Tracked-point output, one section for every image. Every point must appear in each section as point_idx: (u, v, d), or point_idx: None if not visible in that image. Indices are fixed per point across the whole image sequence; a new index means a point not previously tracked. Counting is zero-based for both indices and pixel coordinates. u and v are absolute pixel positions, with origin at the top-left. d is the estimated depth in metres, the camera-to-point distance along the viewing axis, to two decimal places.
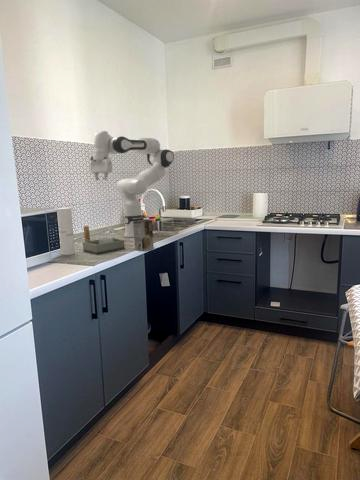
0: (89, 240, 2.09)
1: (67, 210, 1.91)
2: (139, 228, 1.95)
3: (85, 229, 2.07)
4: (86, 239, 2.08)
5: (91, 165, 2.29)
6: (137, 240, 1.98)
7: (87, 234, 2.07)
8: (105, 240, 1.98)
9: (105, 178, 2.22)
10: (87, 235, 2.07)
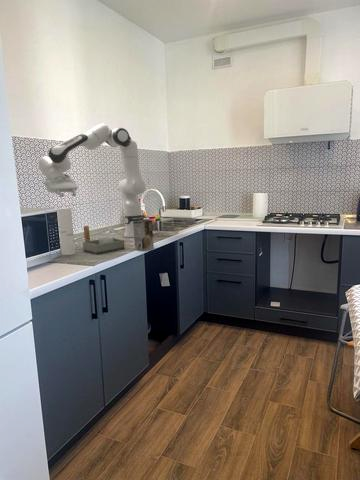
0: (89, 240, 2.09)
1: (67, 210, 1.90)
2: (139, 228, 1.95)
3: (85, 229, 2.06)
4: (86, 239, 2.08)
5: None
6: (137, 240, 1.98)
7: (87, 234, 2.07)
8: (105, 240, 1.98)
9: (60, 195, 2.07)
10: (87, 235, 2.07)
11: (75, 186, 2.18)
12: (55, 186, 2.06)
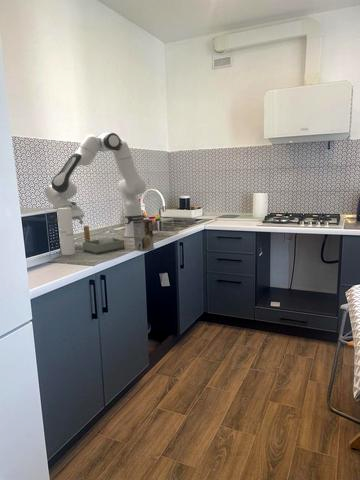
0: (89, 240, 2.09)
1: (67, 210, 1.91)
2: (139, 228, 1.95)
3: (85, 229, 2.07)
4: (86, 239, 2.08)
5: None
6: (137, 240, 1.98)
7: (87, 234, 2.07)
8: (105, 240, 1.98)
9: None
10: (87, 235, 2.07)
11: (82, 213, 2.19)
12: None
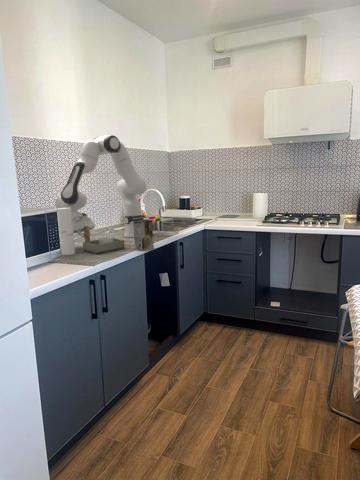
0: (89, 240, 2.09)
1: (67, 210, 1.90)
2: (139, 228, 1.95)
3: (85, 229, 2.06)
4: (86, 239, 2.08)
5: None
6: (137, 240, 1.98)
7: (87, 234, 2.07)
8: (105, 240, 1.98)
9: (82, 236, 2.07)
10: (87, 235, 2.07)
11: (92, 224, 2.16)
12: (74, 228, 2.04)
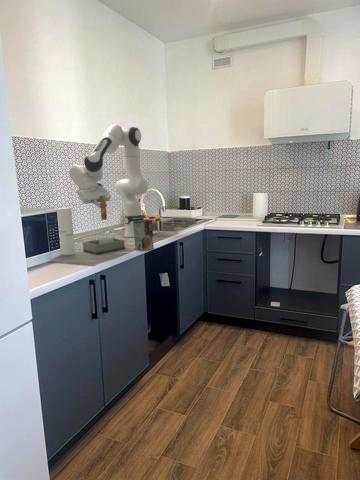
0: (105, 211, 1.98)
1: (67, 210, 1.90)
2: (139, 228, 1.95)
3: (101, 199, 1.96)
4: (102, 209, 1.97)
5: None
6: (137, 240, 1.98)
7: (103, 204, 1.97)
8: (105, 240, 1.98)
9: (98, 206, 1.96)
10: (103, 205, 1.97)
11: (108, 195, 2.05)
12: (90, 197, 1.93)
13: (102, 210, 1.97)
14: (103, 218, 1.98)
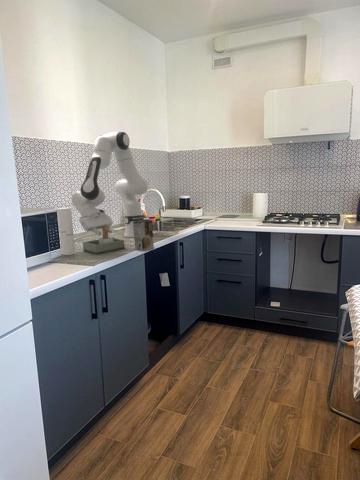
0: None
1: (67, 210, 1.91)
2: (139, 228, 1.95)
3: (103, 228, 1.99)
4: None
5: None
6: (137, 240, 1.98)
7: (106, 234, 2.00)
8: (105, 240, 1.98)
9: (97, 233, 1.97)
10: (106, 235, 2.00)
11: (110, 221, 2.08)
12: (92, 225, 1.96)
13: None
14: None
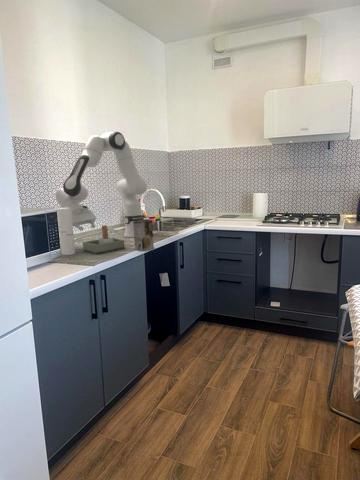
0: None
1: (67, 210, 1.90)
2: (139, 228, 1.95)
3: (103, 228, 1.99)
4: None
5: None
6: (137, 240, 1.98)
7: (105, 234, 2.00)
8: (105, 240, 1.98)
9: (80, 229, 2.04)
10: (105, 235, 2.00)
11: (93, 217, 2.15)
12: (75, 220, 2.03)
13: None
14: None
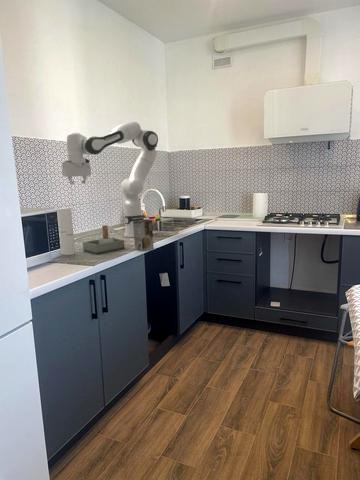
0: None
1: (67, 210, 1.91)
2: (139, 228, 1.95)
3: (104, 228, 1.99)
4: None
5: None
6: (137, 240, 1.98)
7: (106, 234, 2.00)
8: (105, 240, 1.98)
9: (70, 182, 2.13)
10: (106, 235, 2.00)
11: (89, 173, 2.22)
12: (70, 174, 2.10)
13: None
14: None
